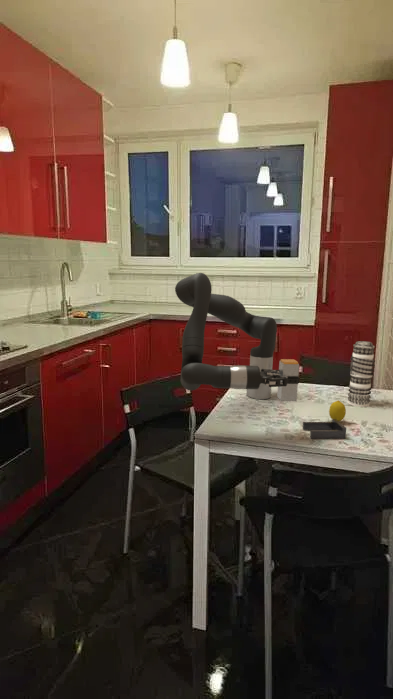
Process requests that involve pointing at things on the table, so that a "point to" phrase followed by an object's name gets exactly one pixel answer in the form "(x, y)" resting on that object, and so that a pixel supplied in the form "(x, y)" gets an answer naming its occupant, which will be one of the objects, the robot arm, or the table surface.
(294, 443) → the table surface
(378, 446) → the table surface
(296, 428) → the table surface
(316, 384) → the table surface
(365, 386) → the decorative candle
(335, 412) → the lemon
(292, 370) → the block
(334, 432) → the channel
